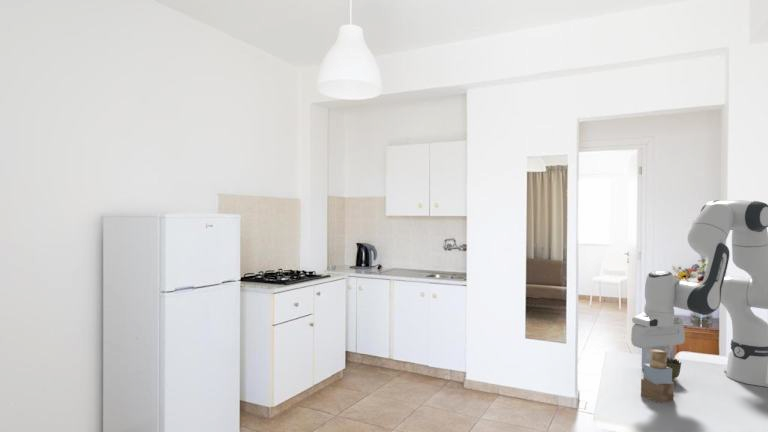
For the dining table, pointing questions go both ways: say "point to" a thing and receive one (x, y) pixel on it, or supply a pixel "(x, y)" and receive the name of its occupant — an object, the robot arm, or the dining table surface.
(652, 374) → the tower top block
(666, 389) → the tower base
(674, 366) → the cup
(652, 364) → the beech cylinder
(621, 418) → the dining table surface
